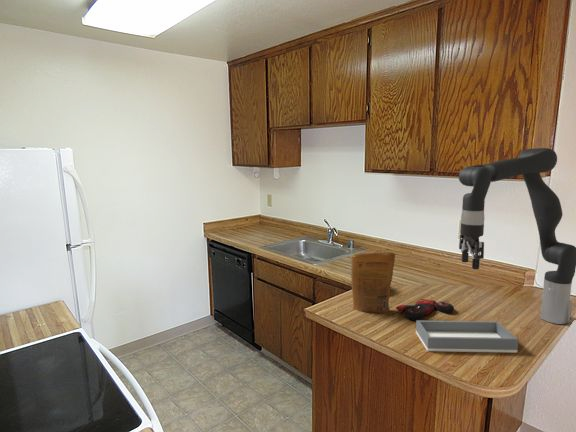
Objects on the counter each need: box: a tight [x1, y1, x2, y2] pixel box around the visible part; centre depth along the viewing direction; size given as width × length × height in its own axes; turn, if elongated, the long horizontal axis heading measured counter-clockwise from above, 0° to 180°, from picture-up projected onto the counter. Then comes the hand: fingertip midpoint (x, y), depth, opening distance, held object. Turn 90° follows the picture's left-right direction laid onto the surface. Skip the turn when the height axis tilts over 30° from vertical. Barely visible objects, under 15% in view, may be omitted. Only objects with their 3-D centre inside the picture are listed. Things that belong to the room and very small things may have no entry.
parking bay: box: [415, 320, 519, 354], centre depth 134 cm, size 31×14×5 cm, turn 87°
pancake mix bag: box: [350, 251, 396, 314], centre depth 159 cm, size 7×19×28 cm, turn 84°
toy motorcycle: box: [395, 298, 455, 321], centre depth 161 cm, size 25×5×16 cm
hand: (469, 265), depth 133 cm, fingers open, 8 cm apart
